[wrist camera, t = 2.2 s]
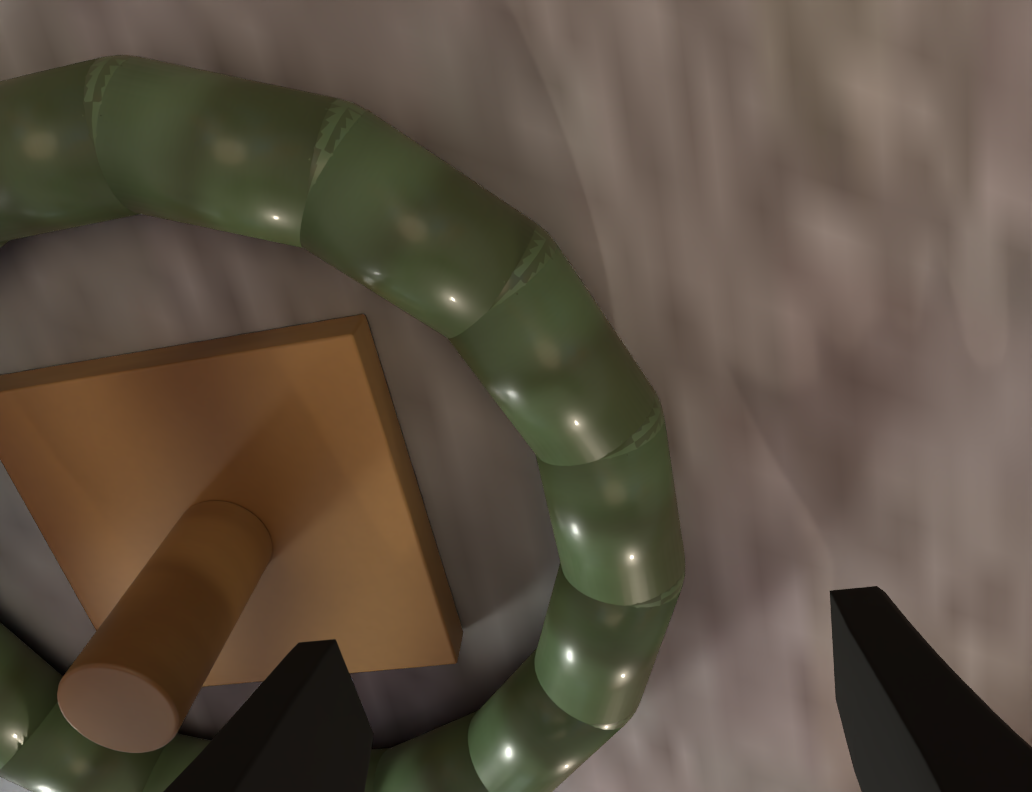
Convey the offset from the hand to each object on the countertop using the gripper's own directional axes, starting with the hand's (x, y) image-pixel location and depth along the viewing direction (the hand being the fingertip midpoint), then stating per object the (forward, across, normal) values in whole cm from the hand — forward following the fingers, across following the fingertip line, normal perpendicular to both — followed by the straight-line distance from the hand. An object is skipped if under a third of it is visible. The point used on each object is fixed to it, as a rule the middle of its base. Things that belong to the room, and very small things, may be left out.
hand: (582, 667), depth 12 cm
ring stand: (+5, +8, 0) cm, 9 cm away
